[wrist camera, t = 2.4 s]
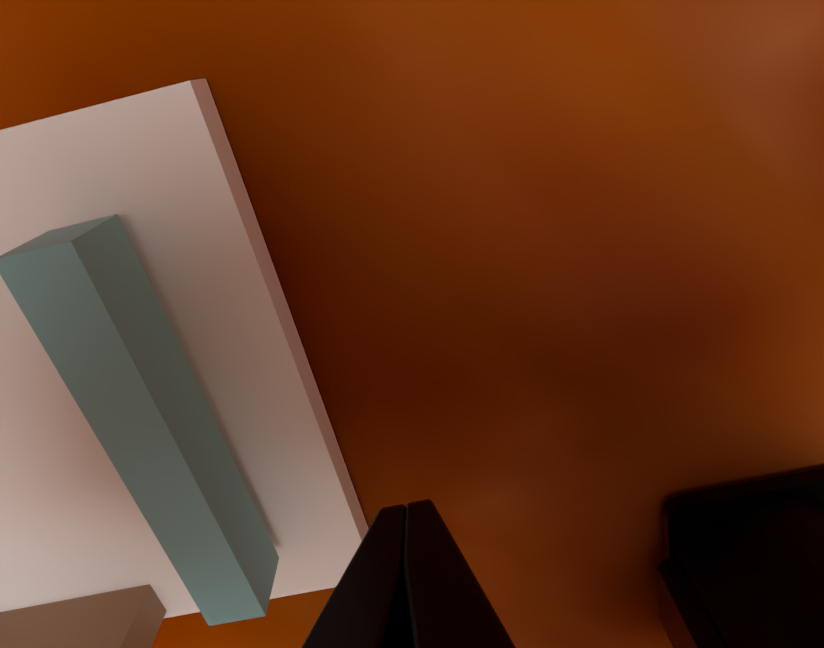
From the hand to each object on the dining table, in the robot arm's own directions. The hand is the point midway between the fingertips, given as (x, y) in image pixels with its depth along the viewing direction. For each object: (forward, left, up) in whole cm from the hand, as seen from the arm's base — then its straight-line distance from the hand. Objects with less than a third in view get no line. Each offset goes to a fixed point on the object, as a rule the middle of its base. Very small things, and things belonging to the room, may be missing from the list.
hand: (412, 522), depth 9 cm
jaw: (+6, 0, -5) cm, 7 cm away
